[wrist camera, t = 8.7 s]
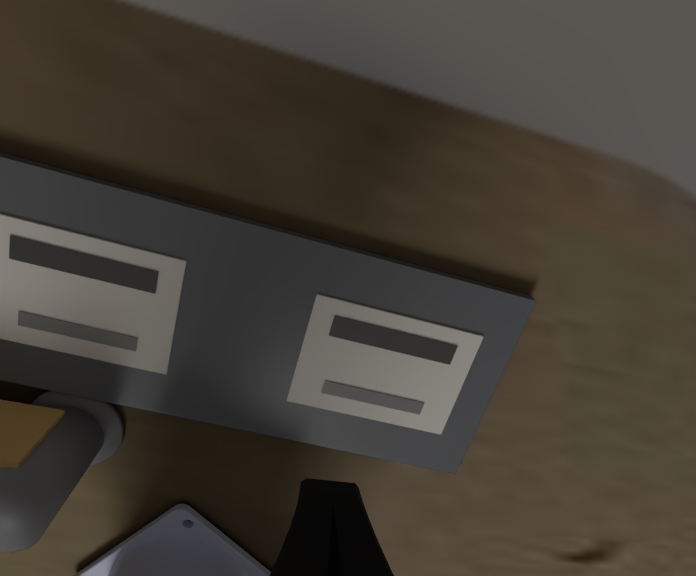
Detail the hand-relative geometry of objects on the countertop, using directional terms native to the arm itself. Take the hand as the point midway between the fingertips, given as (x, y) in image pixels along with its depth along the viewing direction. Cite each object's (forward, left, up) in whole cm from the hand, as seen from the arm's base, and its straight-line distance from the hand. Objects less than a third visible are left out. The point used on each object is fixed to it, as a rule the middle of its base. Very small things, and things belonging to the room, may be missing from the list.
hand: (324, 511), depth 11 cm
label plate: (+2, +3, -8) cm, 9 cm away
